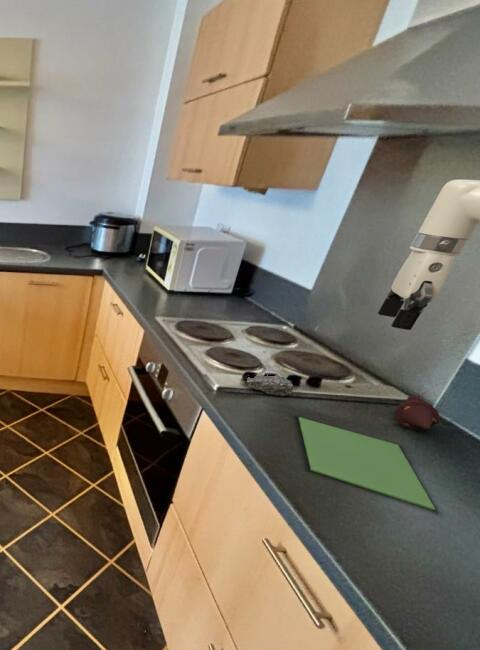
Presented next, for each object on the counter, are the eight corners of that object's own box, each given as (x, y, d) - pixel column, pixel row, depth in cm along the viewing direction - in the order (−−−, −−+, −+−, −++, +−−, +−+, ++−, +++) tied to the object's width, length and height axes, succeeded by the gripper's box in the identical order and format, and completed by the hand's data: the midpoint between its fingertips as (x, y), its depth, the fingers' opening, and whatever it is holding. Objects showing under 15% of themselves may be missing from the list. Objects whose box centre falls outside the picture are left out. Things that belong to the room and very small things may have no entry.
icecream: (462, 425, 87) (435, 400, 99) (422, 406, 90) (400, 384, 102) (434, 449, 91) (410, 422, 103) (395, 430, 93) (377, 406, 105)
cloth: (397, 446, 90) (398, 444, 90) (434, 510, 73) (435, 509, 73) (298, 418, 98) (299, 416, 98) (310, 470, 81) (311, 469, 80)
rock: (240, 377, 115) (246, 364, 113) (283, 386, 112) (289, 373, 110) (244, 389, 109) (250, 375, 107) (289, 400, 105) (296, 385, 103)
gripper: (483, 254, 78) (430, 338, 86) (443, 241, 91) (401, 314, 99) (430, 248, 81) (383, 329, 89) (399, 236, 94) (361, 308, 102)
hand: (393, 321), depth 94 cm, fingers open, 9 cm apart
